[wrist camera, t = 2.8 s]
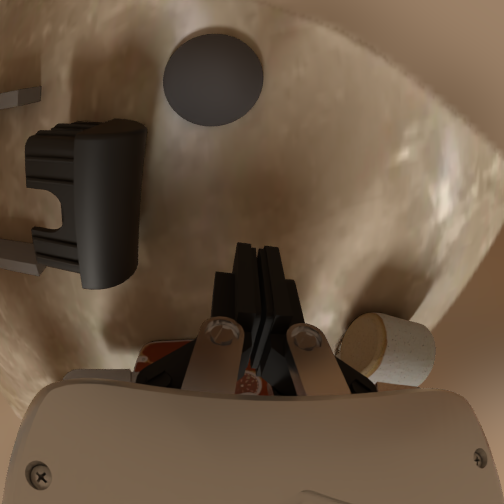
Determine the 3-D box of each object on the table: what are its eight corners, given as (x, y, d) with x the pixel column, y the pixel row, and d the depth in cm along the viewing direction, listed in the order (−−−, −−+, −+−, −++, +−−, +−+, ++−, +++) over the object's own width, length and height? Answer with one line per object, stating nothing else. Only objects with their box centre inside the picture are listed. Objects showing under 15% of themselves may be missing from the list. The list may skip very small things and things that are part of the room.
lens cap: (253, 130, 19) (253, 132, 19) (161, 120, 19) (158, 121, 18) (269, 43, 16) (270, 41, 15) (173, 33, 15) (170, 31, 14)
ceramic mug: (366, 293, 27) (395, 354, 21) (418, 309, 29) (448, 361, 23) (314, 359, 33) (326, 416, 26) (366, 367, 34) (383, 416, 28)
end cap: (148, 244, 23) (124, 299, 18) (73, 231, 22) (35, 278, 16) (160, 120, 18) (128, 138, 13) (73, 114, 17) (18, 133, 11)
